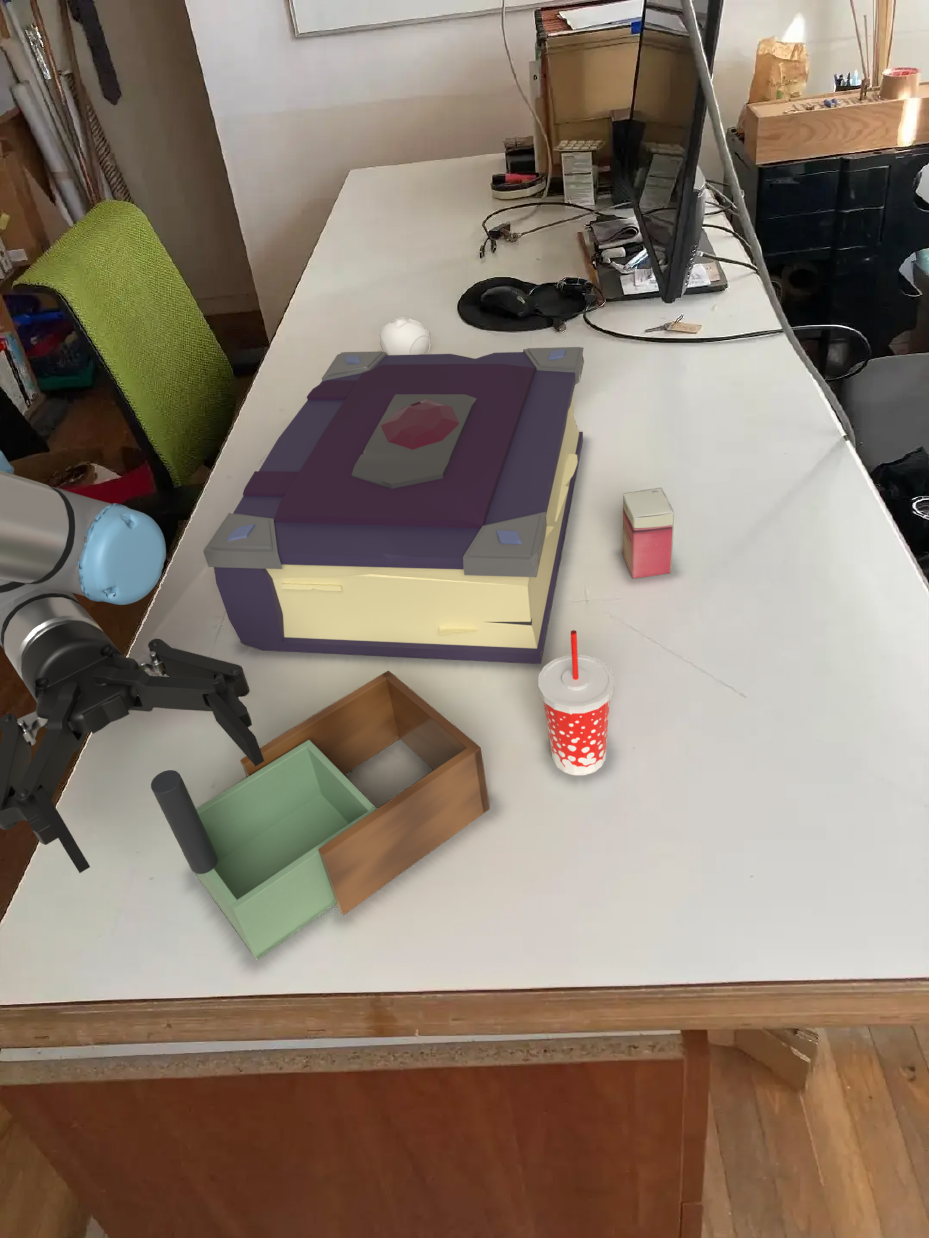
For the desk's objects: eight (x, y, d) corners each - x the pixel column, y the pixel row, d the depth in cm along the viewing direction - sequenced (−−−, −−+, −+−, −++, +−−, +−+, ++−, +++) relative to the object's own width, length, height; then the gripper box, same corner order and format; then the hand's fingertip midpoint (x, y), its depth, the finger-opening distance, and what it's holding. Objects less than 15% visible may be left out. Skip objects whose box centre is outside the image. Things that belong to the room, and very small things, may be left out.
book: (225, 651, 96) (184, 540, 87) (347, 437, 130) (327, 341, 121) (545, 667, 89) (536, 547, 80) (587, 436, 123) (584, 334, 114)
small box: (621, 553, 102) (621, 491, 97) (659, 547, 102) (661, 485, 97) (632, 580, 98) (632, 518, 93) (672, 574, 98) (675, 511, 93)
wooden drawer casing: (343, 915, 70) (323, 855, 66) (262, 819, 78) (239, 759, 74) (490, 809, 77) (481, 747, 72) (401, 730, 85) (388, 669, 80)
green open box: (248, 966, 68) (185, 835, 58) (188, 879, 74) (121, 748, 65) (393, 862, 73) (357, 727, 64) (325, 790, 80) (283, 657, 70)
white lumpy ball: (438, 354, 148) (432, 306, 143) (426, 375, 143) (419, 326, 138) (391, 354, 150) (383, 307, 145) (377, 375, 144) (368, 327, 140)
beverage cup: (608, 787, 77) (607, 663, 68) (536, 777, 79) (525, 654, 70) (619, 733, 81) (619, 610, 73) (551, 725, 83) (542, 603, 74)
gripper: (210, 624, 86) (330, 745, 73) (-64, 766, 76) (17, 940, 62) (186, 559, 82) (310, 675, 68) (-110, 701, 71) (-34, 873, 57)
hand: (170, 802), depth 65 cm, fingers open, 13 cm apart
